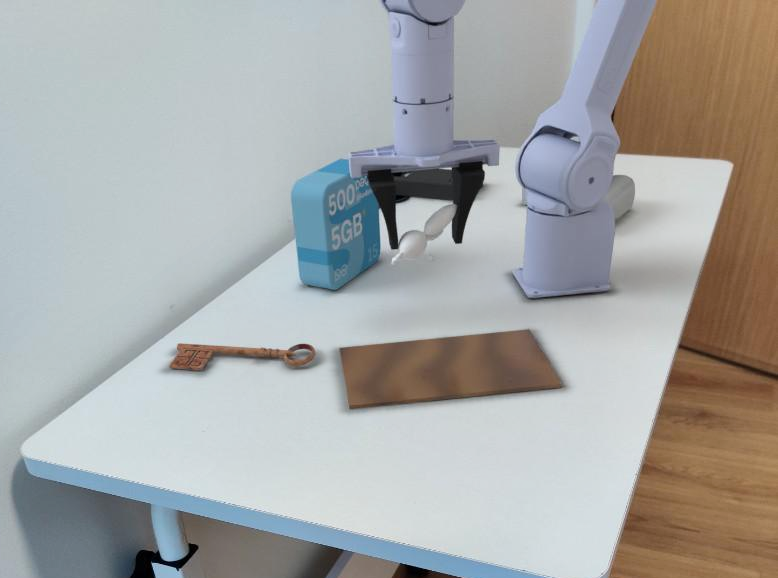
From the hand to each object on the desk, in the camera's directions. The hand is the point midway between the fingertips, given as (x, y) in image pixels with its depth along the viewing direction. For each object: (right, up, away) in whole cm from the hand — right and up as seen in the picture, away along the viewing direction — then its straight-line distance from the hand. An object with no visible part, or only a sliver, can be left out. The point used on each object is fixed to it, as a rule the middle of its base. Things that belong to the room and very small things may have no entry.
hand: (425, 243), depth 86 cm
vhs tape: (+3, +22, +41) cm, 47 cm away
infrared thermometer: (+21, +14, +28) cm, 38 cm away
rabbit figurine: (0, -1, +1) cm, 2 cm away
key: (-19, -12, 0) cm, 22 cm away
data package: (-9, +2, +17) cm, 19 cm away
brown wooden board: (+2, -14, -4) cm, 14 cm away
